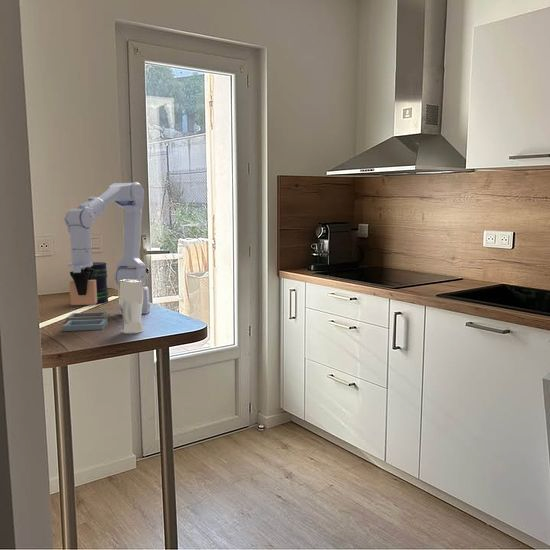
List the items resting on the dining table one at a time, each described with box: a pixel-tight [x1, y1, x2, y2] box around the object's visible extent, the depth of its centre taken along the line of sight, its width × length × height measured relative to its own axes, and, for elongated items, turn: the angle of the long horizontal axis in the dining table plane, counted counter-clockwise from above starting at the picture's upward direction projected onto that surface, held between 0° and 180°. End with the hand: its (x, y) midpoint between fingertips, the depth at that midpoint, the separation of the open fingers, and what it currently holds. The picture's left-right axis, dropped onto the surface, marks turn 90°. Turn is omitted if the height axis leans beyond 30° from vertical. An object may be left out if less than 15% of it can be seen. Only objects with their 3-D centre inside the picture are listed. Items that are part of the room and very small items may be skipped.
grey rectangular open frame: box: [65, 311, 109, 323], centre depth 181 cm, size 12×8×2 cm
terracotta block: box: [69, 279, 97, 306], centre depth 168 cm, size 7×4×7 cm, turn 97°
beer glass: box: [117, 279, 144, 335], centre depth 161 cm, size 7×7×15 cm
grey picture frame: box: [62, 318, 109, 332], centre depth 169 cm, size 12×8×2 cm
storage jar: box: [88, 261, 109, 306], centre depth 213 cm, size 10×10×15 cm
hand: (83, 293), depth 168 cm, fingers closed on terracotta block, 3 cm apart
